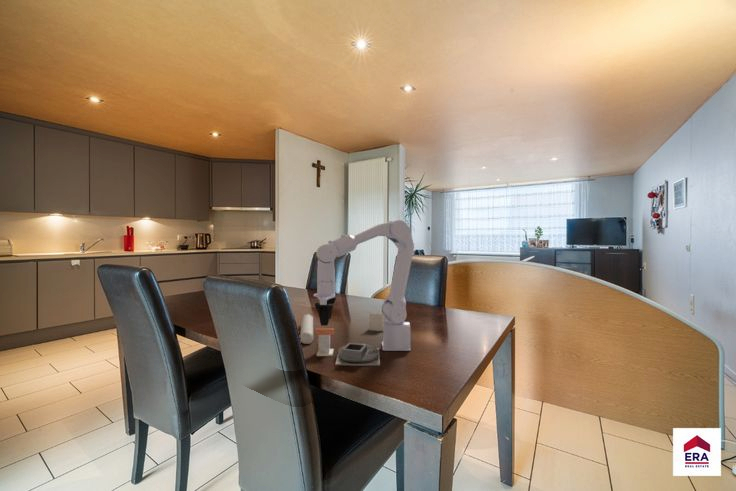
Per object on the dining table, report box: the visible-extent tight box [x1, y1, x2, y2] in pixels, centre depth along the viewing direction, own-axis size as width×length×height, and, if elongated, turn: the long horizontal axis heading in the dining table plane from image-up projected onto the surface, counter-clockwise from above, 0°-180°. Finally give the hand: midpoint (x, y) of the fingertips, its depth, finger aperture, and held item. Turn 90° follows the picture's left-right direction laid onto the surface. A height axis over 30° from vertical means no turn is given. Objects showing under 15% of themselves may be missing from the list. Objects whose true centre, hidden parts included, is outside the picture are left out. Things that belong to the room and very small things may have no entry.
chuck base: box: [335, 347, 381, 367], centre depth 101 cm, size 13×13×1 cm
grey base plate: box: [337, 342, 380, 363], centre depth 101 cm, size 13×13×4 cm
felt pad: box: [316, 348, 335, 357], centre depth 104 cm, size 5×5×1 cm
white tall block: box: [313, 327, 335, 353], centre depth 104 cm, size 6×3×8 cm, turn 90°
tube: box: [299, 313, 314, 345], centre depth 124 cm, size 5×5×25 cm
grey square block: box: [368, 312, 384, 332], centre depth 131 cm, size 3×7×7 cm, turn 76°
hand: (326, 321), depth 104 cm, fingers open, 7 cm apart
